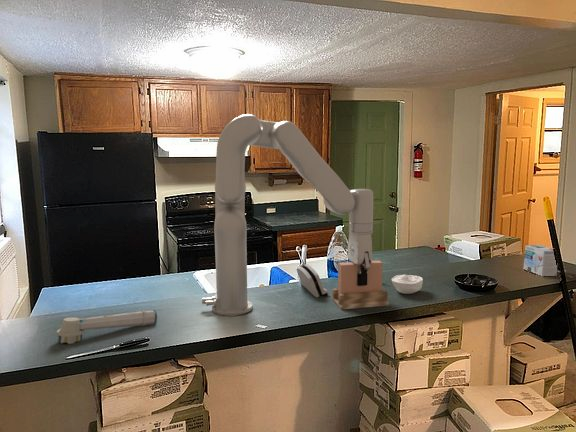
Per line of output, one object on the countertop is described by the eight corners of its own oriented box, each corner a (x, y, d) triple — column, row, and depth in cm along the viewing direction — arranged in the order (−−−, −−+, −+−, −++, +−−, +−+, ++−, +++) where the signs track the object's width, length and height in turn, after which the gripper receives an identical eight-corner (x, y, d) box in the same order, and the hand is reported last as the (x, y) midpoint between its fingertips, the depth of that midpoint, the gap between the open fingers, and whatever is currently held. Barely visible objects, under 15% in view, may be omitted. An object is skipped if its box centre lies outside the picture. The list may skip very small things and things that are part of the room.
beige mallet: (158, 312, 123) (59, 319, 108) (156, 335, 123) (57, 345, 109) (153, 307, 127) (57, 313, 113) (150, 329, 127) (55, 338, 113)
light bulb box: (522, 270, 178) (524, 245, 177) (537, 269, 180) (539, 244, 178) (542, 277, 168) (544, 250, 167) (557, 276, 169) (559, 249, 168)
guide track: (341, 309, 135) (341, 296, 134) (331, 299, 144) (331, 287, 144) (389, 305, 138) (389, 293, 137) (376, 295, 148) (376, 284, 147)
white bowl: (429, 292, 151) (430, 273, 150) (408, 299, 143) (409, 279, 143) (405, 285, 159) (406, 267, 158) (384, 292, 151) (385, 273, 150)
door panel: (341, 295, 138) (341, 265, 136) (338, 293, 141) (338, 263, 139) (382, 292, 141) (382, 262, 139) (378, 289, 144) (378, 260, 142)
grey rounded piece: (330, 295, 148) (320, 269, 145) (317, 301, 147) (308, 275, 144) (313, 282, 164) (305, 258, 161) (302, 287, 163) (293, 263, 160)
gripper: (341, 224, 145) (340, 277, 147) (359, 232, 129) (358, 292, 132) (362, 223, 146) (361, 276, 149) (382, 231, 131) (381, 290, 133)
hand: (360, 283), depth 140 cm, fingers closed on door panel, 3 cm apart
